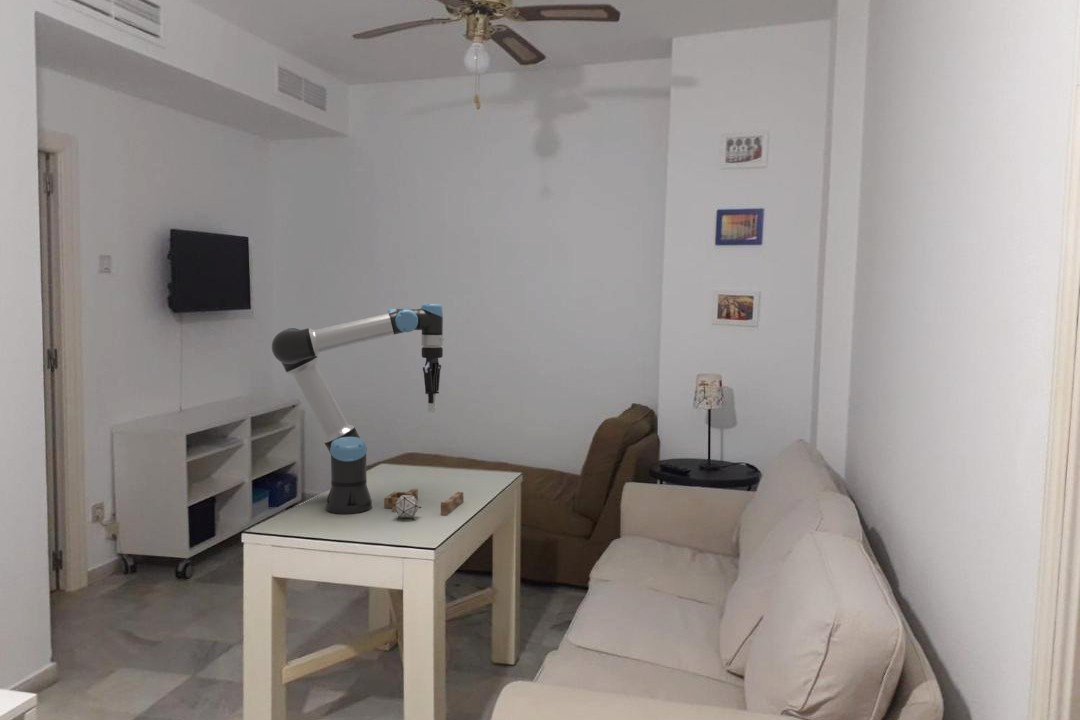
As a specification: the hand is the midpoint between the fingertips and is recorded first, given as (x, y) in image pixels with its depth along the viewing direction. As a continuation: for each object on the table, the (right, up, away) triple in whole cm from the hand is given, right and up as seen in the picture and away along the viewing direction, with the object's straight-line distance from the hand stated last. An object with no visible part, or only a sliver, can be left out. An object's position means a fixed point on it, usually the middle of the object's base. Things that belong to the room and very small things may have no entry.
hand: (432, 411), depth 281 cm
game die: (-4, -33, -29) cm, 44 cm away
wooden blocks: (-1, -31, -14) cm, 34 cm away
